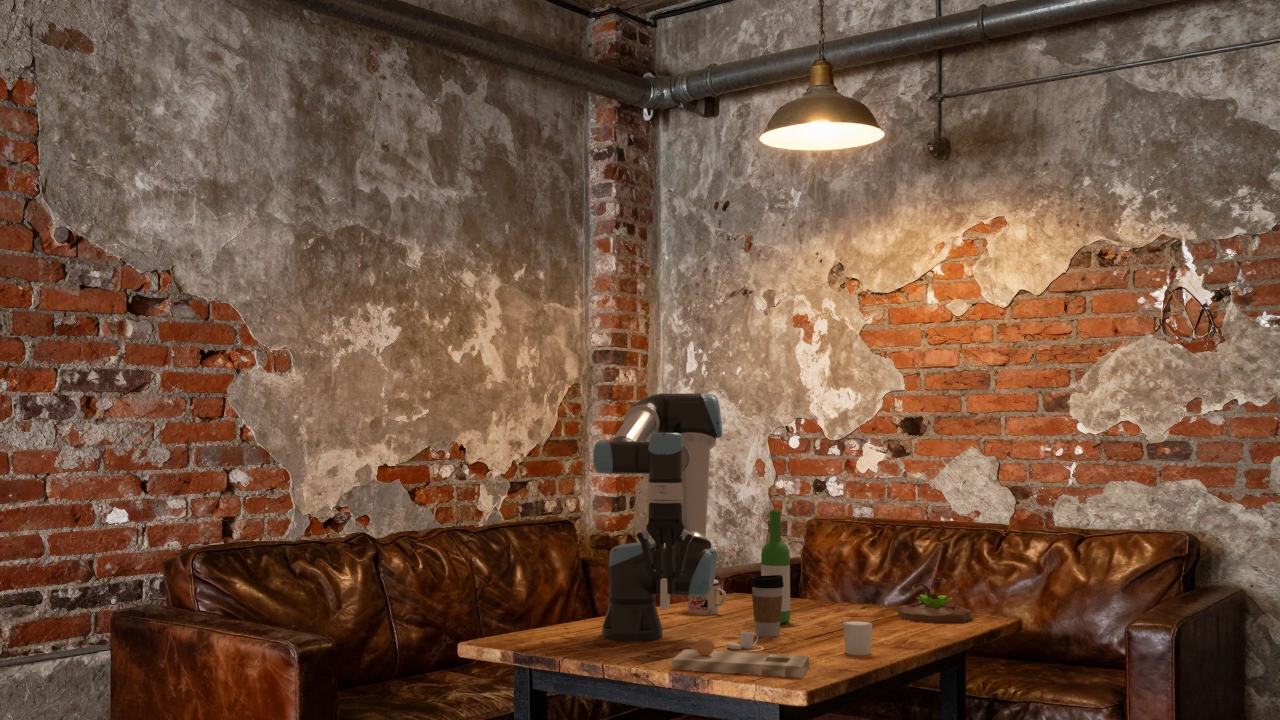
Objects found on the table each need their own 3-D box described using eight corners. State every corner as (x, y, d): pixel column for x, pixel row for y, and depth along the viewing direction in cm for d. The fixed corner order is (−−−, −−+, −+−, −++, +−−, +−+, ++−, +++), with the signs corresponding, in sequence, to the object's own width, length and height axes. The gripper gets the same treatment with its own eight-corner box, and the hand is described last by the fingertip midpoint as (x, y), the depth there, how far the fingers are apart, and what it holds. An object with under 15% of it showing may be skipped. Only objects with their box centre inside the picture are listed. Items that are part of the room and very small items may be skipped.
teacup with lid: (681, 613, 327) (681, 572, 328) (698, 609, 335) (698, 569, 335) (717, 618, 320) (717, 575, 321) (734, 613, 328) (734, 572, 329)
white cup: (852, 649, 276) (851, 619, 276) (878, 652, 271) (877, 622, 272) (837, 653, 270) (837, 622, 271) (863, 656, 266) (863, 626, 266)
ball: (694, 656, 253) (694, 638, 253) (698, 653, 257) (698, 635, 257) (712, 657, 252) (712, 639, 252) (715, 654, 256) (715, 636, 256)
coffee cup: (782, 638, 289) (782, 578, 289) (748, 637, 290) (748, 577, 291) (785, 633, 297) (785, 574, 298) (752, 631, 298) (752, 573, 299)
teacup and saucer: (725, 652, 272) (725, 635, 273) (728, 646, 280) (728, 629, 280) (763, 653, 271) (763, 636, 271) (764, 647, 279) (764, 630, 279)
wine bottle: (776, 618, 319) (775, 509, 321) (796, 622, 313) (795, 511, 315) (755, 621, 315) (755, 510, 317) (775, 625, 309) (775, 512, 310)
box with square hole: (672, 671, 250) (672, 659, 250) (684, 660, 261) (684, 649, 261) (801, 678, 242) (801, 666, 243) (808, 667, 254) (808, 655, 254)
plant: (976, 624, 313) (975, 583, 313) (902, 622, 315) (901, 581, 316) (966, 613, 332) (965, 573, 333) (896, 611, 335) (896, 572, 336)
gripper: (632, 501, 257) (632, 609, 255) (690, 503, 253) (690, 612, 251) (641, 500, 264) (641, 605, 262) (697, 501, 260) (697, 607, 259)
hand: (665, 608), depth 257 cm, fingers closed
